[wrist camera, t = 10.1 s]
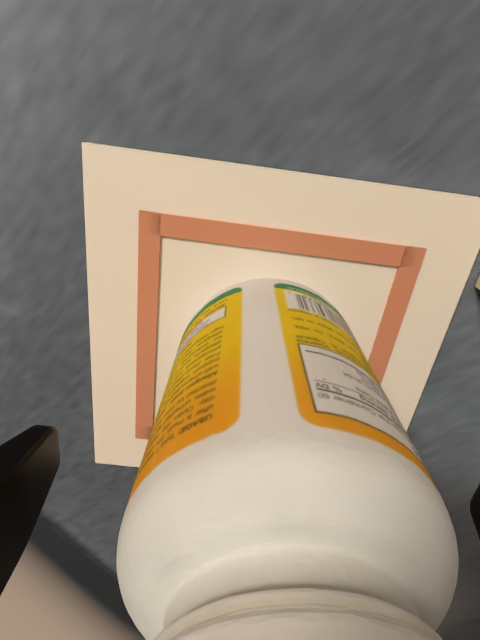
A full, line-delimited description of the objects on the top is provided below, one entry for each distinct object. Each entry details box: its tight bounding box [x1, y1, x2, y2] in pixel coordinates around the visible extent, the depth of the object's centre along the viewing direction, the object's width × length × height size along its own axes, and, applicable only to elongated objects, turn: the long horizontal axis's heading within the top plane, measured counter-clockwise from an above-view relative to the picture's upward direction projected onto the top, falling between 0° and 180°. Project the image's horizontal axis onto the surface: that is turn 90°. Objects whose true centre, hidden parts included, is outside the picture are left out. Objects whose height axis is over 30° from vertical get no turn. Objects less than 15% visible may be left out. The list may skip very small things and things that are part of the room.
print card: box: [82, 142, 480, 467], centre depth 12 cm, size 11×11×1 cm
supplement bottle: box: [116, 278, 459, 640], centre depth 8 cm, size 5×5×10 cm
